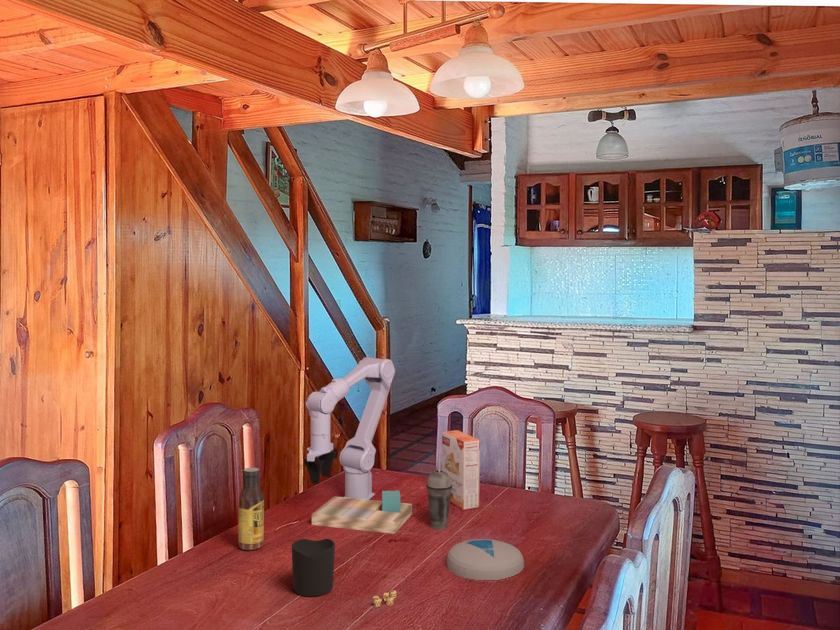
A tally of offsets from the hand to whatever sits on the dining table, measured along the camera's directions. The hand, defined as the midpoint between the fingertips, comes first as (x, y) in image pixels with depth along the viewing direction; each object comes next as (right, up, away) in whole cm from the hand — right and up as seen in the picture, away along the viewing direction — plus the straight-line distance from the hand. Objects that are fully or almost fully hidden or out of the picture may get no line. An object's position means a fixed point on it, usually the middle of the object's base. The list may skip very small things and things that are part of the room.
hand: (320, 479), depth 213 cm
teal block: (+21, -9, -4) cm, 23 cm away
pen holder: (+5, -13, -51) cm, 53 cm away
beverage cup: (+34, -11, -11) cm, 37 cm away
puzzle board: (+13, -10, -6) cm, 17 cm away
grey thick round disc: (+45, -13, -37) cm, 59 cm away
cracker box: (+41, -9, +10) cm, 43 cm away
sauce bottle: (-14, -11, -27) cm, 32 cm away
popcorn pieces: (+21, -14, -57) cm, 62 cm away
